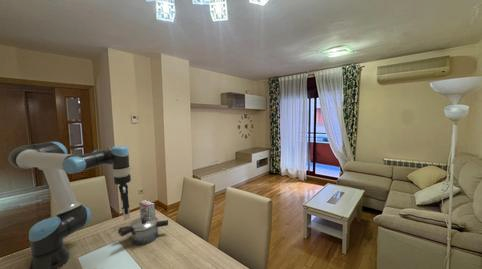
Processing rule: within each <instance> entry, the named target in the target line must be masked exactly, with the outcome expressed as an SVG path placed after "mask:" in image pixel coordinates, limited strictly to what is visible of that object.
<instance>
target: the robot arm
mask: <svg viewBox="0 0 482 269" xmlns="http://www.w3.org/2000/svg"><path fill="white" fill-rule="evenodd" d="M8 162H9V163H10V165H11V166H13V167H15V168H17V169H18V168H19V169H25V170H26V169H32V168H37V170H39V171H40V170H41V171H43V175H44V176H45V179H46V182H47V185H48V188H49V190H50V191H51V195H52V196H53V200H54V202H55V204H56V208H57V212H56V214H55V215H56V216H51V217H48V218H45V219H43V220H40V221H39V222H36V223H35V224H33V226H31V228H30V229H29V231H28V240H29V244H30V250H31V256H32V257H31V261H30V264H29V267H28V269H56V268H58V267H60V266H62V265H63V264H64V265H65V264H67V262H69V260H70V258H69V257H70V252H69V251H68V249H67V248H66V247H65V245H64V239H66V238H67V237H69V236H70V235H72V234H73V233H75V232H77V231H79V230H80V229H82V228H84V227H85V226H86V225H88V224H89V223H90V221H91V218H92V213H91V210H90V208H89V207H87V206H85V205H83V203H81V202H78V200H77V198H76V195H75V193H74V190H73V187H72V185H71V182H70V180H69V177H68V174H69V175H72V174H78V173H81V172H84V171H87V170H90V169H93V168H97V167H100V166H103V165H112V173H113V174H112V175H113V180H114V181H113V182H114V185H117V186H118V190H119V193H120V203H121V212H122V213H123V221H127V220H130V219H131V215H130V204H129V203H130V202H129V201H130V200H129V186H128V183H130V182H131V181H132V179H131V170H132V167H130V153H129V148H128V147H127V146H126V145H117V146H112V147H111V148H110V149H95V150H93V151H92V152H90V153H84V154H70V153H69V154H68V149H67V148H66V146H65V145H64V144H63V143H61V142H59V141H47V142H39V143H32V144H25V145H21V146H18V147H16V148H14V149H13V150H12V151H11V152H10V153H9V155H8ZM68 259H69V260H68ZM64 265H63V266H64ZM63 266H62V267H63ZM60 268H61V267H60ZM58 269H59V268H58Z"/></svg>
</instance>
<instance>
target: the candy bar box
mask: <svg viewBox="0 0 482 269" xmlns="http://www.w3.org/2000/svg"><path fill="white" fill-rule="evenodd" d="M138 204H139V214H140V218H141V217H144V216H155V217H156V209H155V208H156V207H155V206H156V205H155V203H154V202H151V201H149V200H146V199H143V200H141V201H139V202H138Z"/></svg>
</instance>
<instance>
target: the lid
mask: <svg viewBox="0 0 482 269" xmlns="http://www.w3.org/2000/svg"><path fill="white" fill-rule="evenodd" d="M157 222H159V220H158V218H157V217H156V215H155V216H144V217H141V216H140V217H138V218H136V219H134V220H133V221H131V223H130V224H129V226H130V227H128V228H126V229H124V230H122V231H120V232H119V233H118V234H119V236H121V237H123V236H124V237H125V236H126V235H127V234H131V232H132V231H135V232H140V231H145V230H148V229H150V228H152V227H154V226H155V225H156V224H157Z"/></svg>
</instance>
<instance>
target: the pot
mask: <svg viewBox="0 0 482 269" xmlns="http://www.w3.org/2000/svg"><path fill="white" fill-rule="evenodd" d="M166 226H169V220H167V219H166V220H161V221H159V220H158V222H157V224H156V225H155V226H154V227H152V228H150V229H148V230H145V231H140V232H135V231H132V232H130V238H131V244H132V245H133V246H136V247H142V246H143V247H144V246H146V245H149V244H151V243H153V242H154V241H155V240H156V239H158V236H159V228H161V227H166ZM128 227H130V225H129V226H128V225H127V226H123V227H119V229H118V234H119V232H120V231H122V230H124V229H126V228H128Z"/></svg>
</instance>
